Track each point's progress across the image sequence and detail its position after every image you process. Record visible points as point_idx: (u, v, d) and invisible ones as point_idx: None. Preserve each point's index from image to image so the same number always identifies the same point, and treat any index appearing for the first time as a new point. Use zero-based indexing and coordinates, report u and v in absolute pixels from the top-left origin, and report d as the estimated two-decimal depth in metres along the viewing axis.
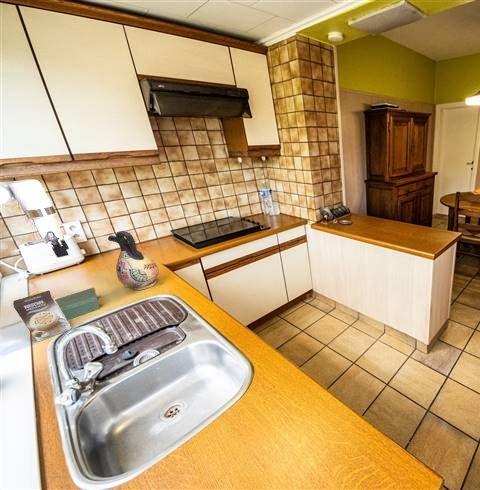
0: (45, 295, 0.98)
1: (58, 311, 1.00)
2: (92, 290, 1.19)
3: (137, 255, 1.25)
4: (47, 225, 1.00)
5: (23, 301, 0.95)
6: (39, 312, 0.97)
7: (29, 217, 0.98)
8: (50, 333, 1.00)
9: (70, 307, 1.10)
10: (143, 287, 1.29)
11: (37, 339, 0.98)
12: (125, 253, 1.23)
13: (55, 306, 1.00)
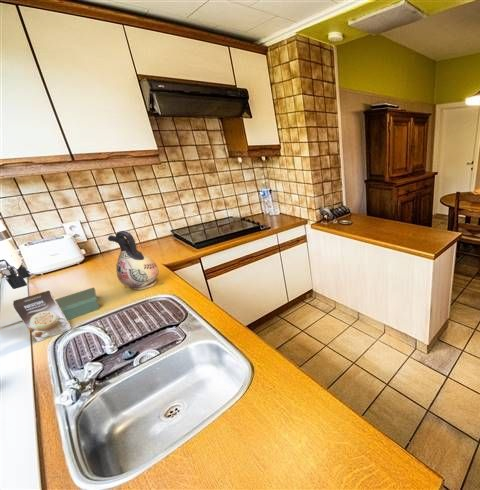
0: (45, 295, 0.98)
1: (58, 311, 1.00)
2: (92, 290, 1.19)
3: (137, 255, 1.25)
4: None
5: (23, 301, 0.95)
6: (39, 312, 0.97)
7: None
8: (50, 333, 1.00)
9: (70, 307, 1.10)
10: (143, 287, 1.29)
11: (37, 339, 0.98)
12: (125, 253, 1.23)
13: (55, 306, 1.00)
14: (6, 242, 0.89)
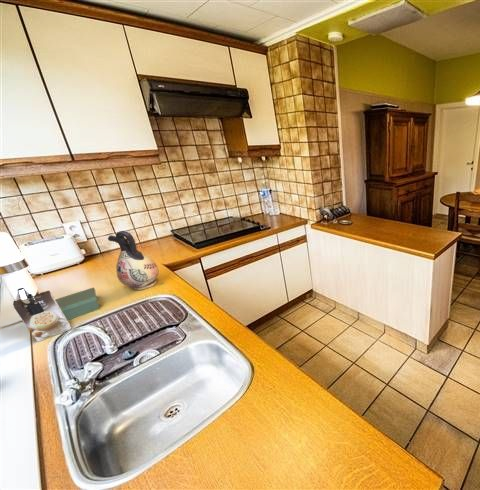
0: (45, 295, 0.98)
1: (58, 311, 1.00)
2: (92, 290, 1.19)
3: (137, 255, 1.25)
4: (17, 282, 0.90)
5: None
6: None
7: None
8: (50, 333, 1.00)
9: (70, 307, 1.10)
10: (143, 287, 1.29)
11: (37, 339, 0.98)
12: (125, 253, 1.23)
13: (55, 306, 1.00)
14: (24, 271, 0.93)
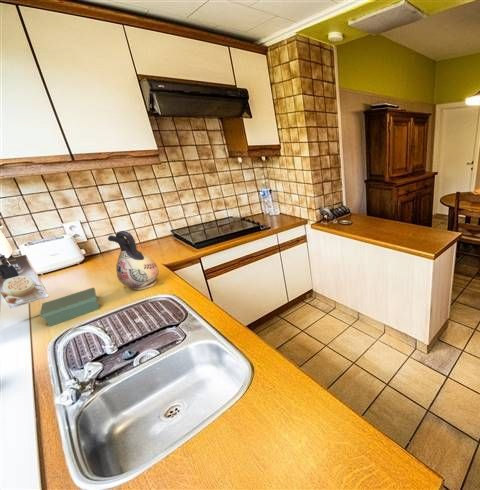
0: (20, 258, 0.92)
1: (34, 277, 0.94)
2: (92, 290, 1.19)
3: (137, 255, 1.25)
4: None
5: None
6: None
7: None
8: (25, 300, 0.94)
9: (70, 307, 1.10)
10: (143, 287, 1.29)
11: (11, 305, 0.92)
12: (125, 253, 1.23)
13: (31, 271, 0.93)
14: None
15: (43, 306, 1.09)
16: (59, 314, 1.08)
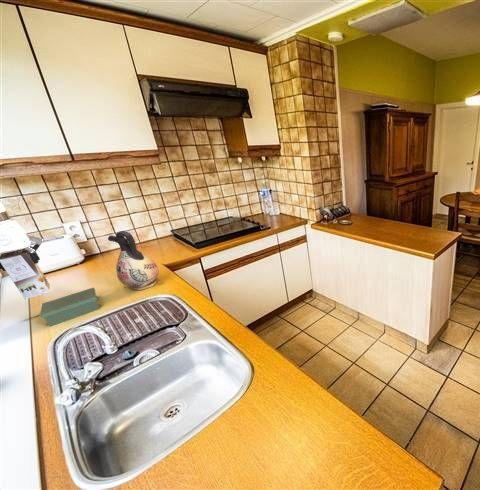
0: (21, 249, 0.97)
1: (37, 265, 1.01)
2: (92, 290, 1.19)
3: (137, 255, 1.25)
4: None
5: (15, 254, 0.93)
6: None
7: (1, 221, 0.88)
8: (47, 284, 1.01)
9: (70, 307, 1.10)
10: (143, 287, 1.29)
11: (48, 289, 0.99)
12: (125, 253, 1.23)
13: None
14: None
15: (43, 306, 1.09)
16: (59, 314, 1.08)
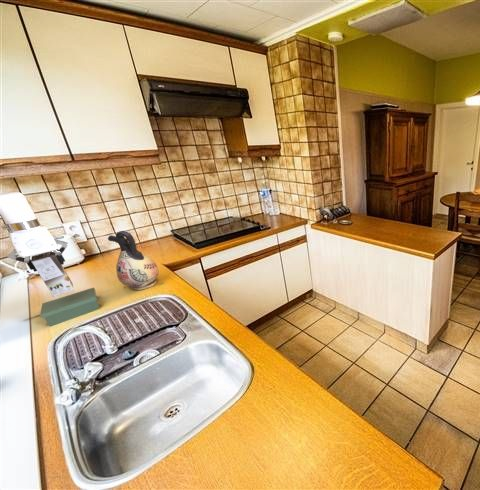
0: (49, 252, 1.09)
1: None
2: (92, 290, 1.19)
3: (137, 255, 1.25)
4: (49, 232, 1.05)
5: (45, 256, 1.05)
6: None
7: (33, 227, 1.00)
8: (71, 283, 1.13)
9: (70, 307, 1.10)
10: (143, 287, 1.29)
11: (73, 287, 1.11)
12: (125, 253, 1.23)
13: None
14: None
15: (43, 306, 1.09)
16: (59, 314, 1.08)
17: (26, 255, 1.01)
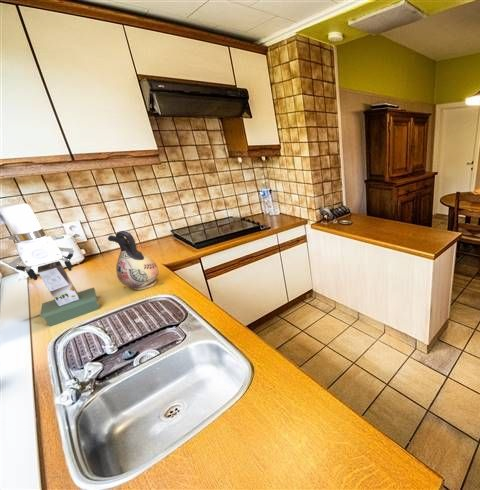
0: (55, 262, 1.10)
1: None
2: (92, 290, 1.19)
3: (137, 255, 1.25)
4: (54, 241, 1.07)
5: (51, 267, 1.06)
6: (66, 274, 1.11)
7: (39, 237, 1.02)
8: (77, 293, 1.15)
9: (70, 307, 1.10)
10: (143, 287, 1.29)
11: (78, 296, 1.13)
12: (125, 253, 1.23)
13: None
14: None
15: (43, 306, 1.09)
16: (59, 314, 1.08)
17: (32, 265, 1.02)
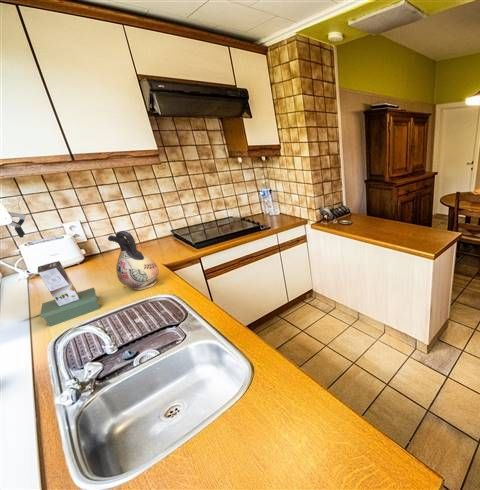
0: (55, 262, 1.10)
1: None
2: (92, 290, 1.19)
3: (137, 255, 1.25)
4: (2, 205, 1.00)
5: (51, 267, 1.06)
6: (66, 274, 1.11)
7: None
8: (77, 293, 1.15)
9: (70, 307, 1.10)
10: (143, 287, 1.29)
11: (78, 296, 1.13)
12: (125, 253, 1.23)
13: None
14: None
15: (43, 306, 1.09)
16: (59, 314, 1.08)
17: None
